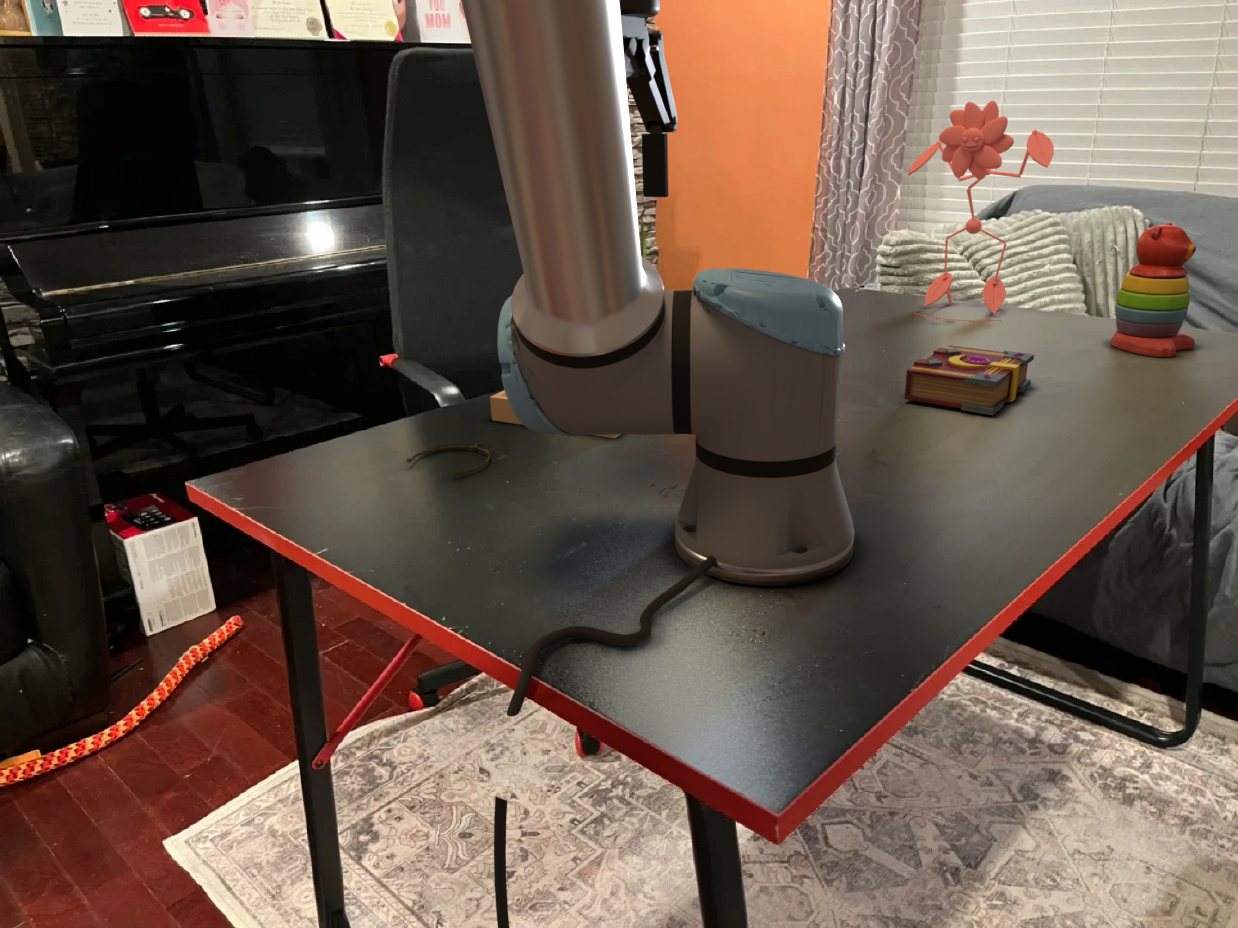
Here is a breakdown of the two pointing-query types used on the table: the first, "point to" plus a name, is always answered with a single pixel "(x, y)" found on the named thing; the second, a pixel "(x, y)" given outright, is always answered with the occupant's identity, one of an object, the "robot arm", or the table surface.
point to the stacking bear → (1155, 295)
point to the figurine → (979, 177)
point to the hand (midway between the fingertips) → (626, 203)
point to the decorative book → (968, 378)
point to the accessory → (456, 447)
